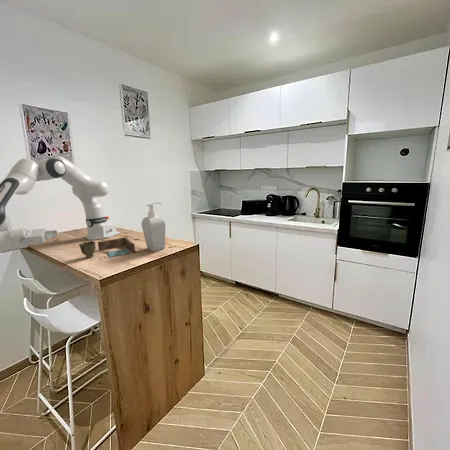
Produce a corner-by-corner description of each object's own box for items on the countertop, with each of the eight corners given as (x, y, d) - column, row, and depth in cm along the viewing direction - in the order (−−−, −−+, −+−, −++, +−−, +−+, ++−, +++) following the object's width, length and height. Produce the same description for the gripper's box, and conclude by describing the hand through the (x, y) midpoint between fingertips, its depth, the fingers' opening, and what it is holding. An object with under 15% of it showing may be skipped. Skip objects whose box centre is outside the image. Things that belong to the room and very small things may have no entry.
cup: (79, 257, 135) (77, 243, 133) (94, 254, 140) (92, 239, 138) (84, 260, 130) (81, 245, 128) (99, 256, 135) (97, 242, 133)
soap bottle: (170, 248, 143) (166, 202, 138) (154, 252, 137) (148, 204, 131) (160, 244, 152) (155, 201, 147) (144, 248, 146) (138, 203, 141)
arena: (104, 259, 130) (102, 250, 129) (98, 250, 146) (97, 242, 145) (135, 252, 138) (134, 243, 137) (127, 245, 154) (126, 237, 153)
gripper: (16, 235, 109) (55, 230, 116) (22, 228, 126) (55, 224, 133) (19, 249, 110) (57, 243, 117) (25, 241, 127) (58, 236, 134)
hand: (56, 233), depth 125 cm, fingers open, 8 cm apart
